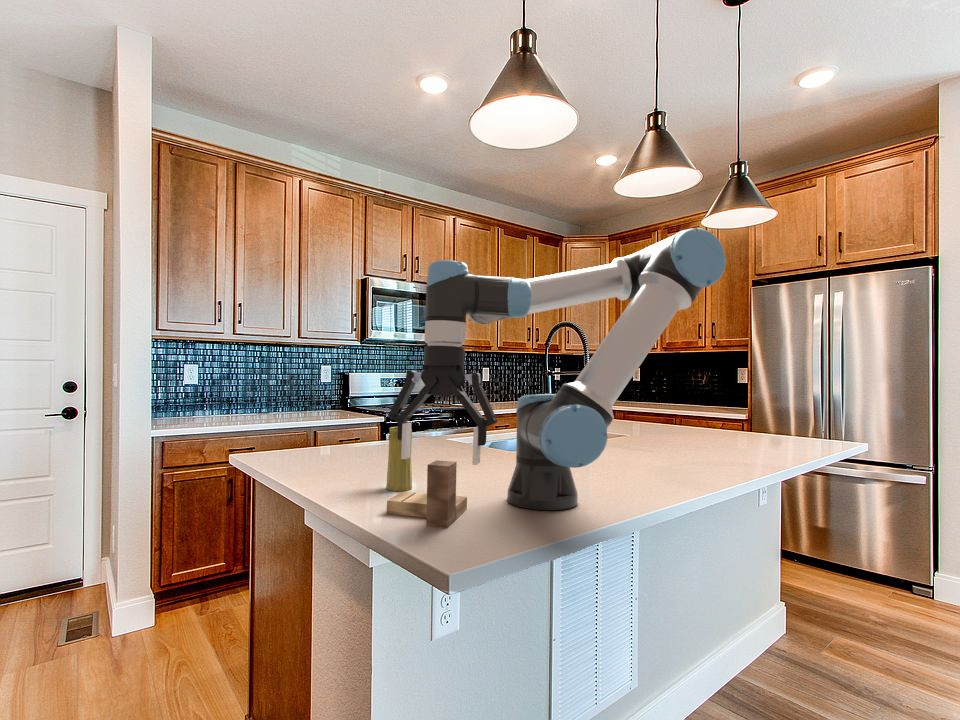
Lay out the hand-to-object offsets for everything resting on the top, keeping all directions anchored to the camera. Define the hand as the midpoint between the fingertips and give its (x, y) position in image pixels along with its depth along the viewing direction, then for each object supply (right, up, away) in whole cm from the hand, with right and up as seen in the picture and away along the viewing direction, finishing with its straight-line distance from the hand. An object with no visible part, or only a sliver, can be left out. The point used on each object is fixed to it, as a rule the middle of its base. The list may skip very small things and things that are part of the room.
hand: (440, 461), depth 97 cm
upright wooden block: (+1, -11, +2) cm, 12 cm away
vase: (-12, -12, +27) cm, 32 cm away
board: (-3, -12, +8) cm, 14 cm away
